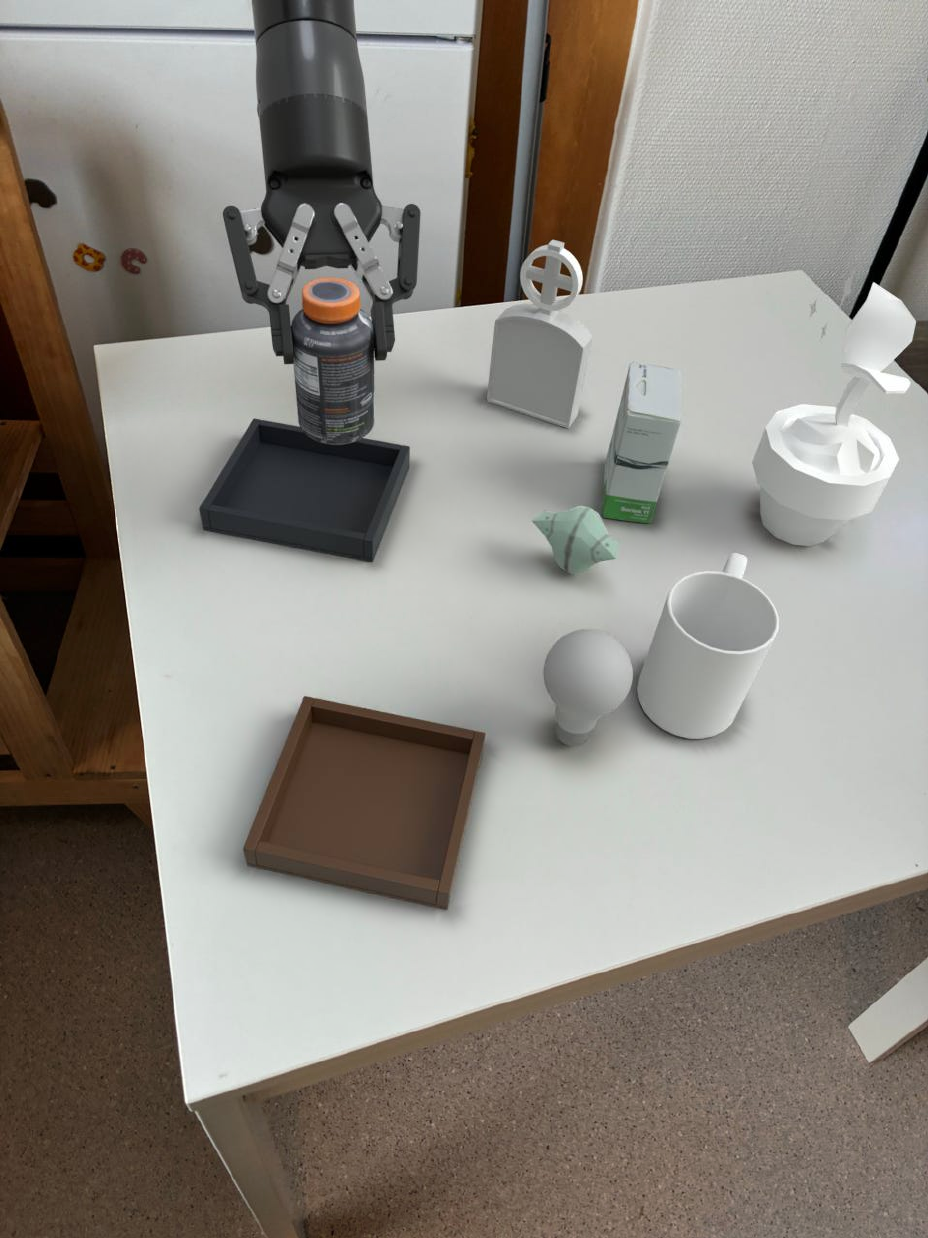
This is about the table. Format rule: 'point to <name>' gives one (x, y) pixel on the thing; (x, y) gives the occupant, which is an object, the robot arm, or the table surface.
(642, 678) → the mug
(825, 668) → the table surface
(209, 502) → the far tray
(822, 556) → the table surface
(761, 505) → the potted plant
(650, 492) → the ink box
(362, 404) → the pill bottle
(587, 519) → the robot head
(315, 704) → the near tray
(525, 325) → the gravestone
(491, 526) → the table surface
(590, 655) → the lightbulb
